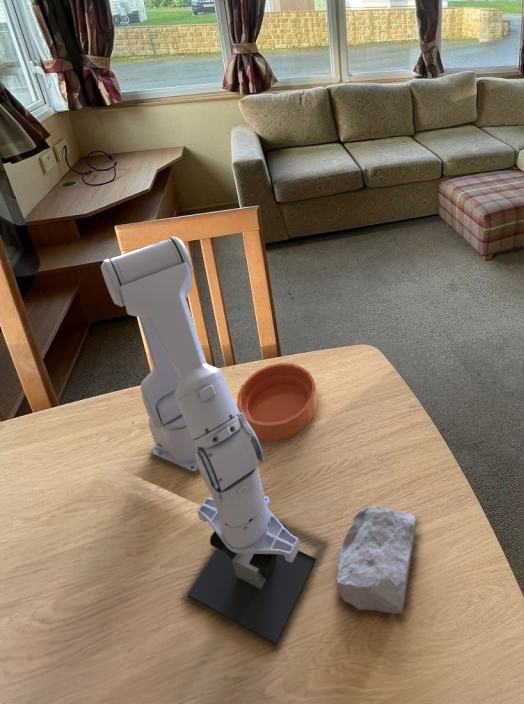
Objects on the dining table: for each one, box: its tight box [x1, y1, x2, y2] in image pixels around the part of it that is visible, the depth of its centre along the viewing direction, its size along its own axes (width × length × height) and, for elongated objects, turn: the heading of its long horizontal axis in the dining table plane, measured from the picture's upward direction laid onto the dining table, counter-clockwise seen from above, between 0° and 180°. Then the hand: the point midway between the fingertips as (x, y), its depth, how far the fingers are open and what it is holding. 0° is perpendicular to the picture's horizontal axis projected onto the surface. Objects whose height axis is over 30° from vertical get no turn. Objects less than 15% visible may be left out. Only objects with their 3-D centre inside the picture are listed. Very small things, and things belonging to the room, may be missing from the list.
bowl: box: [236, 362, 318, 442], centre depth 90 cm, size 14×14×4 cm
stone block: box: [336, 505, 417, 615], centre depth 67 cm, size 12×5×10 cm
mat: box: [187, 548, 317, 645], centre depth 67 cm, size 14×12×1 cm
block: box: [232, 553, 266, 589], centre depth 66 cm, size 4×4×4 cm
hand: (256, 564), depth 67 cm, fingers closed on block, 4 cm apart
